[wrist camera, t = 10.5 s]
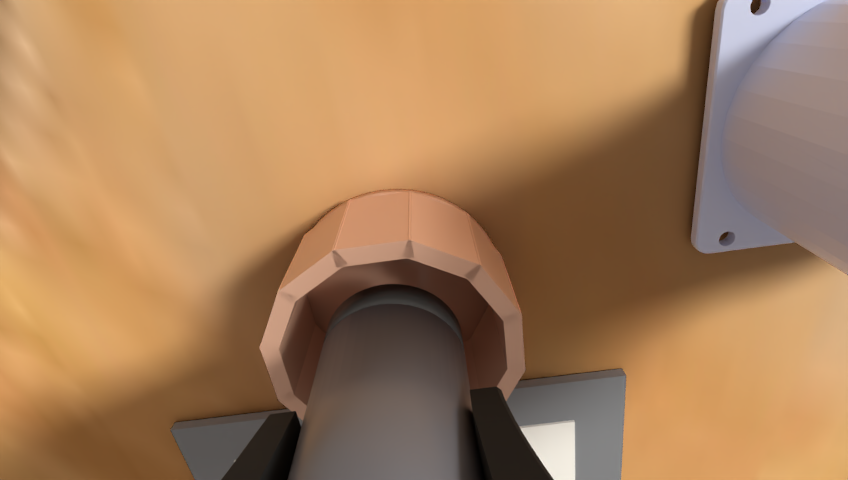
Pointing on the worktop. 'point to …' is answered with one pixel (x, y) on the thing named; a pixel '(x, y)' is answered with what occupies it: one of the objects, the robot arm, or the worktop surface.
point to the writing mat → (529, 404)
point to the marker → (390, 393)
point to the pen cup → (394, 264)
